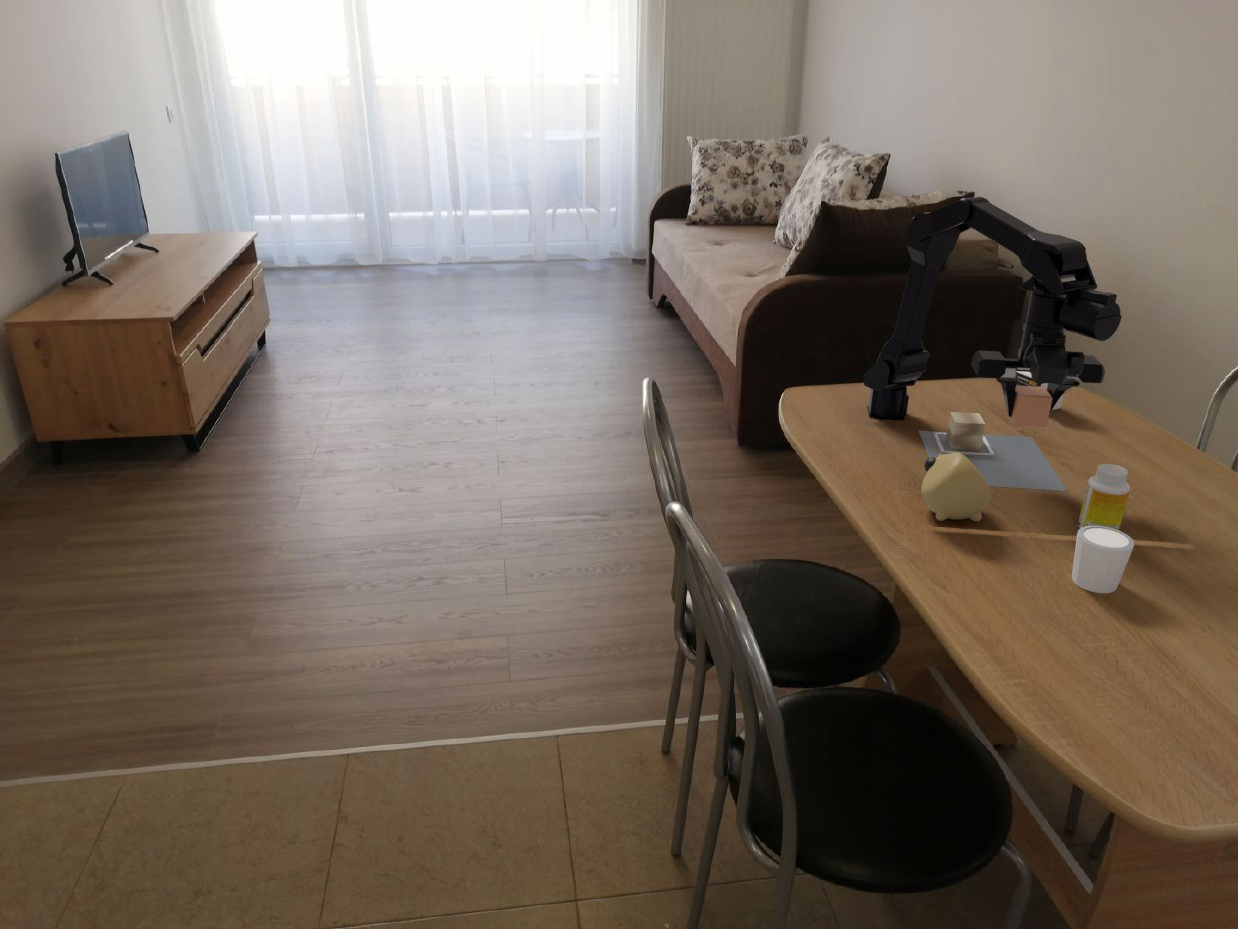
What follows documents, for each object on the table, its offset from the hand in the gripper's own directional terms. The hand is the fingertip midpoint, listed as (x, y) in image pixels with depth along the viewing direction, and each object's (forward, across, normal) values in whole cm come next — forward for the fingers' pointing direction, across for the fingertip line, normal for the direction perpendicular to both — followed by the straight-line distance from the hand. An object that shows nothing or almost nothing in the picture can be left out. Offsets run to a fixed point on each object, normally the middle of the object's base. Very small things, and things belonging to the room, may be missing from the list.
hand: (1026, 416), depth 151 cm
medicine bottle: (+11, +12, +35) cm, 39 cm away
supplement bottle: (+11, +8, -17) cm, 22 cm away
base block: (+10, -6, +12) cm, 17 cm away
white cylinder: (+11, +3, -32) cm, 34 cm away
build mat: (+11, -3, +6) cm, 13 cm away
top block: (+1, 0, 0) cm, 1 cm away
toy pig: (+11, -13, -15) cm, 23 cm away
